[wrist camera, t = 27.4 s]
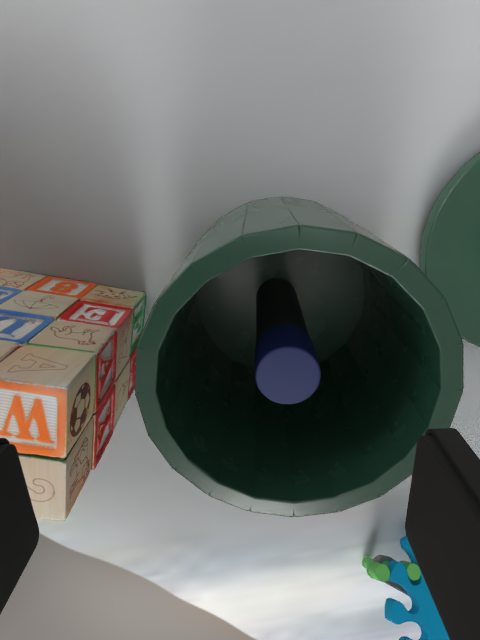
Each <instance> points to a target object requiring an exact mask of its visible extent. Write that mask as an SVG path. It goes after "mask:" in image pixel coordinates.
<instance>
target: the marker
mask: <svg viewBox="0 0 480 640" xmlns="http://www.w3.org/2000/svg"><path fill="white" fill-rule="evenodd" d="M320 379H321V370H320V366H319V362H318V359H317V356H316V353H315V350H314V346H313V343H312V340H311V338H310V337H309V334H308V331H307V327H306V324H305V321H304V318H303V314H302V311H301V308H300V304H299V301H298V298H297V295H296V291H295V289H294V287H293V286H292V285H291V283H289V282H288V281H286V280H284V279H280V278H273V279H269V280H267V281H265V282H264V283H263V284H262V285H261V286H260V287H259V289H258V291H257V295H256V348H255V380H256V384H257V386H258V388H259V390H260V391H261V393H262V394H263V395H264V396H265V397H267V398H268V399H270V400H271V401H273V402H276V403H280V404H295V403H299V402H302V401H304V400H306V399H307V398H309V397H310V396H311V395H312V394H313V393H314V392H315V390H316V389H317V387H318V385H319V383H320Z"/></svg>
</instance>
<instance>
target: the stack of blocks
mask: <svg viewBox="0 0 480 640" xmlns="http://www.w3.org/2000/svg"><path fill="white" fill-rule="evenodd" d="M145 300H146V294H145V293H144V292H139V291H133V290H127V289H120V288H114V287H108V286H101V285H97V284H96V283H91V282H85V281H79V280H72V279H66V278H59V277H53V276H46V275H41V274H36V273H29V272H23V271H16V270H10V269H3V268H0V438H6V439H7V440H8V441H9V443H10V444H13V445H15V446H16V449H17V452H18V456H19V459H20V463H21V466H22V470H23V474H24V477H25V481H26V485H27V488H28V492H29V495H30V499H31V503H32V506H33V510H34V513H35V517H36V518H43V519H49V520H56V521H62V520H65V519H66V518H67V516H68V514H69V512H70V511H71V509H72V507H73V505H74V503H75V501H76V499H77V497H78V495H79V493H80V491H81V489H82V487H83V485H84V483H85V481H86V479H87V477H88V475H89V472H90V470H92V469H95V468H96V466H97V464H98V462H99V460H100V459H101V456H102V454H103V452H104V450H105V448H106V446H107V444H108V443H109V440H110V438H111V436H112V434H113V429H114V428H115V426H116V424H117V422H118V419H119V417H120V415H121V413H122V411H123V409H124V407H125V405H126V402H127V401H128V400H129V398H130V396H131V394H132V393H133V390H134V388H135V369H136V348H137V346H138V341H139V339H140V337H141V334H142V332H143V324H144V312H145Z"/></svg>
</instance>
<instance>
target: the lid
mask: <svg viewBox="0 0 480 640" xmlns="http://www.w3.org/2000/svg"><path fill="white" fill-rule="evenodd" d="M419 264H420V270H421V271H422V272H423V273H424V274H425V276H426V277H427V278H428V279H429V280H430V281H431V282H432V283H433V284H434V285H435V286H436V287H437V288H438V289H439V290H440V292H441V293H442V294H443V296H444V297H445V298H446V300H447V303H448V305H449V308H450V310H451V313H452V315H453V318H454V320H455V323H456V325H457V328H458V330H459V333H460V335H461V337H462V338H463V339H465V340H467V341H468V342H470V343H472V344H474V345H476V346H479V347H480V152H479V153H478V154H477V155H476V156H474V157H473V158H472V159H471V160H470V161H468V162H467V163H466V164H465V165H464V166H463V167H462V168H461V169H460V170H459V171H458V172H457V173H456V174H455V175H454V176H453V178H452V179H451V180H450V182H449V183H448V184H447V185H446V187H445V188H444V189H443V191H442V193H441V194H440V196H439V197H438V199H437V201H436V202H435V204H434V206H433V208H432V211H431V213H430V215H429V217H428V219H427V223H426V226H425V229H424V232H423V236H422V241H421V247H420V261H419Z"/></svg>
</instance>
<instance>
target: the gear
mask: <svg viewBox="0 0 480 640" xmlns="http://www.w3.org/2000/svg"><path fill="white" fill-rule="evenodd" d="M400 545H401V547H402V549H403V550H404V551H405V552H406V553H407V554H408V556H409V558H410V559H411V562H412V563H410V562H406V561H400V562H397V561H395V560H393V559H392V558H391V557H388V556H384V555H378V556H376V557H375V558H374V559H370V558H364V559H363V561H362V564H363V566H364V567H365V568H367V573H368V575H369V576H370V577H371V578H373V579H376V580H379V581H382V582H385V583H386V584H388V585H390V586H392V587H394V588H395V589H397V590H399V591H401V592H403V593H405V594H406V595H408V596H410V598H411V600H412V608H411V610H410V611H407V610H406V608H405V607H404V605H403V604H402V603H401V602H399V601H397V600H394V599H392V598H388V599H386V603H385V618H386V619H387V620H389V621H391V622H393V623H395V624H401V623H403V622H407V621H412V622H416V623H417V624H418V625H419V626H420V627H421V631H422V634H421V637H420V639H419V640H450V639H449V636H448V634H447V631H446V629H445V627H444V624H443V622H442V620H441V617H440V615H439V613H438V610H437V608H436V605H435V603H434V601H433V598H432V596H431V594H430V591H429V589H428V587H427V584H426V582H425V579H424V577H423V575H422V572H421V570H420V568H419V565H418V563H417V560H416V558H415V556H414V553H413V551H412V549H411V546H410V544H409V541H408V539H407V536H405V537H403V538H401V539H400ZM399 640H412V639H410V638H408V637H405V636H403V637H401V638H400V639H399Z"/></svg>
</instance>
